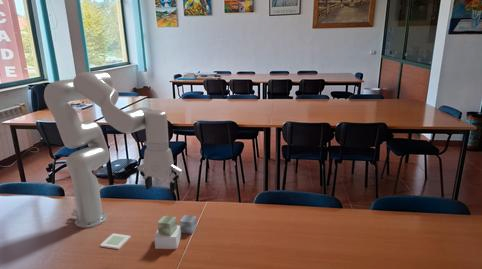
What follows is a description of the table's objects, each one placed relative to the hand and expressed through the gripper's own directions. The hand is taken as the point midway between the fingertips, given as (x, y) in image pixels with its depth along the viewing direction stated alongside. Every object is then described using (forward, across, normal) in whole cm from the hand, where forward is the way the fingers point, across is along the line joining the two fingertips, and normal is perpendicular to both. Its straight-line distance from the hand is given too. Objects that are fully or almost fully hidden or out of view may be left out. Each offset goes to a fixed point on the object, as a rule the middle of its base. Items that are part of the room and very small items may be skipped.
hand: (160, 189), depth 121 cm
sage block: (+16, +3, -2) cm, 16 cm away
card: (+21, -17, -6) cm, 28 cm away
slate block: (+21, +6, +8) cm, 23 cm away
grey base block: (+21, +3, -2) cm, 21 cm away
